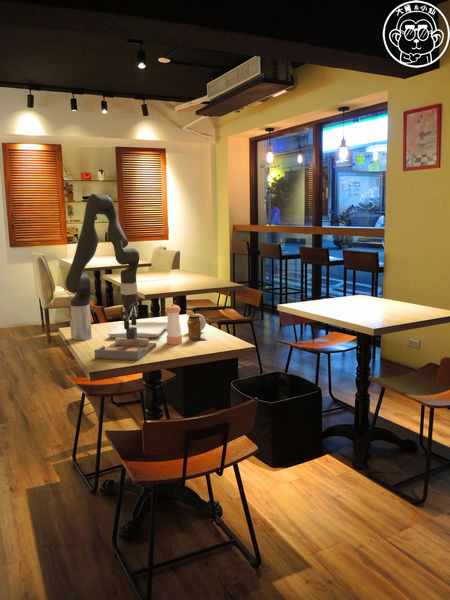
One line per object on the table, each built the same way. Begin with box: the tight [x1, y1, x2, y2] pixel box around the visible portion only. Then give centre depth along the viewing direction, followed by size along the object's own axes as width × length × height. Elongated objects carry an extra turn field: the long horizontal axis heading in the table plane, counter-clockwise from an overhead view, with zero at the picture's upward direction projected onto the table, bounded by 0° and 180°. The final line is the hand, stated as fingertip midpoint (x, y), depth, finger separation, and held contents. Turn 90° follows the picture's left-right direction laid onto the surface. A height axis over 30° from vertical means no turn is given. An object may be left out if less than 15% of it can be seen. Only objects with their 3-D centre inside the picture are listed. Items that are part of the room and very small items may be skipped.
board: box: [105, 342, 157, 356], centre depth 241 cm, size 20×14×2 cm
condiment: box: [186, 314, 207, 342], centre depth 258 cm, size 7×8×12 cm
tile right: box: [125, 348, 139, 351], centre depth 230 cm, size 5×5×2 cm
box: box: [94, 345, 146, 362], centre depth 230 cm, size 20×9×4 cm, turn 78°
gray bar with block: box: [114, 327, 150, 346], centre depth 243 cm, size 16×3×8 cm, turn 78°
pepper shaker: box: [165, 303, 183, 346], centre depth 252 cm, size 7×7×19 cm
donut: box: [186, 313, 207, 332], centre depth 274 cm, size 10×4×10 cm, turn 107°
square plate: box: [107, 321, 168, 339], centre depth 275 cm, size 27×27×4 cm
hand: (130, 327), depth 242 cm, fingers open, 8 cm apart
